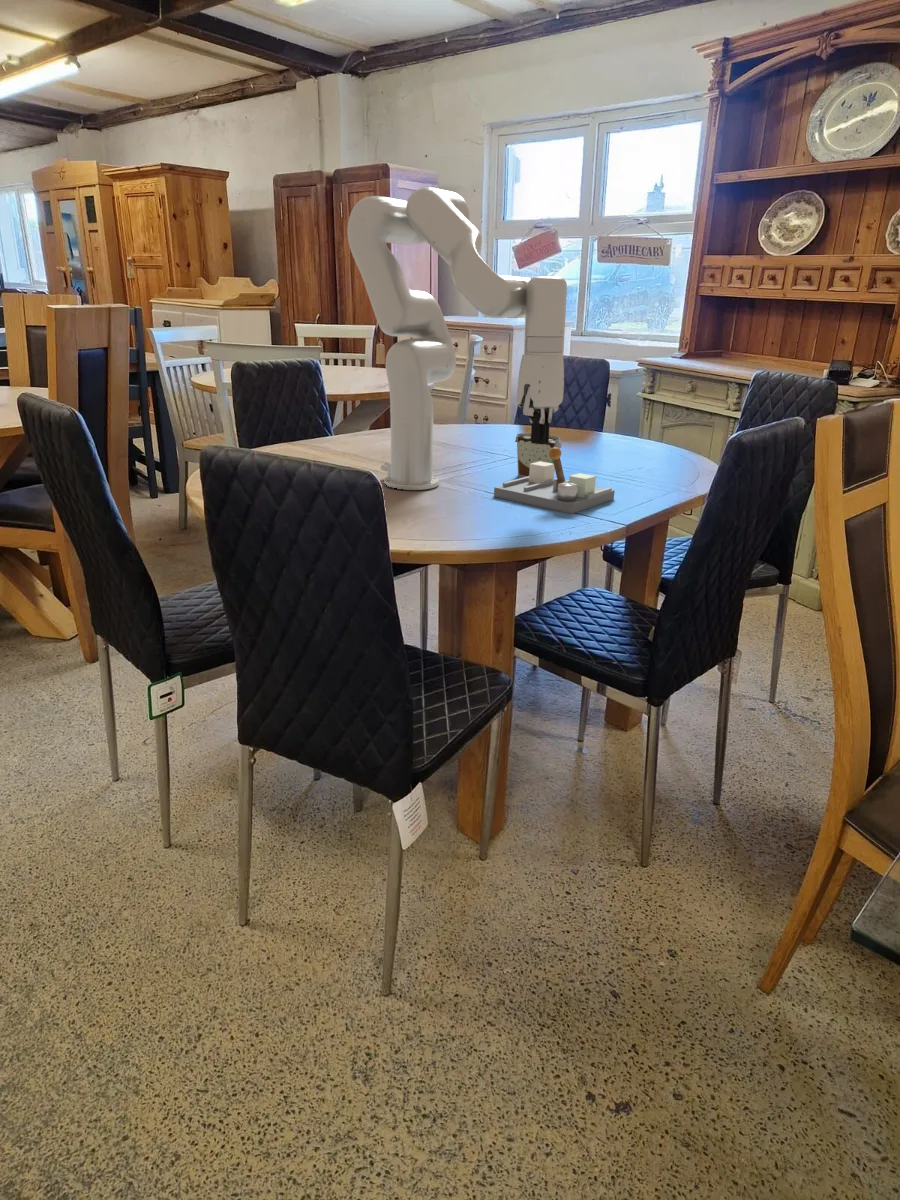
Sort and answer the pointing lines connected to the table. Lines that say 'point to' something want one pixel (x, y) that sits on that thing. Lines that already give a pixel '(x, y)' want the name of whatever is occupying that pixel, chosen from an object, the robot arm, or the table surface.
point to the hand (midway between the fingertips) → (539, 443)
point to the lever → (557, 463)
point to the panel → (549, 495)
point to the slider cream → (541, 472)
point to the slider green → (583, 483)
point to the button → (567, 492)
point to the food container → (533, 452)
